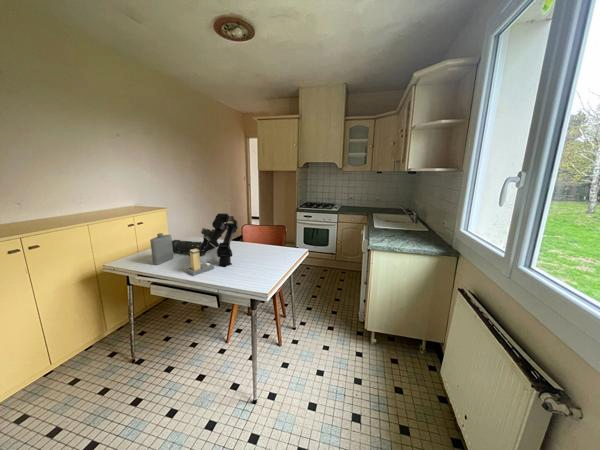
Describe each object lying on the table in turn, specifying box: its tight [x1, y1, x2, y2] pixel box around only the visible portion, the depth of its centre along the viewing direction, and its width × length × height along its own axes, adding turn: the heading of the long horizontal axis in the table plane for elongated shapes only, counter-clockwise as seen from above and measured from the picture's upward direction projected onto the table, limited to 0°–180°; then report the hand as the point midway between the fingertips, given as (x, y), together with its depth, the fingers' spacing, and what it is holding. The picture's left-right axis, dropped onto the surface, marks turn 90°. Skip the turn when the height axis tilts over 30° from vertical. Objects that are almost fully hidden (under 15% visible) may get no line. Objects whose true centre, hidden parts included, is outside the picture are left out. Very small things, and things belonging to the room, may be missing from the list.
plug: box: [189, 249, 201, 271], centre depth 143 cm, size 4×4×14 cm
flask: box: [150, 232, 174, 266], centre depth 158 cm, size 15×6×20 cm, turn 163°
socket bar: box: [186, 262, 215, 277], centre depth 146 cm, size 14×8×3 cm, turn 143°
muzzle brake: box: [172, 239, 207, 256], centre depth 176 cm, size 10×28×10 cm, turn 78°
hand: (201, 250), depth 143 cm, fingers open, 9 cm apart
